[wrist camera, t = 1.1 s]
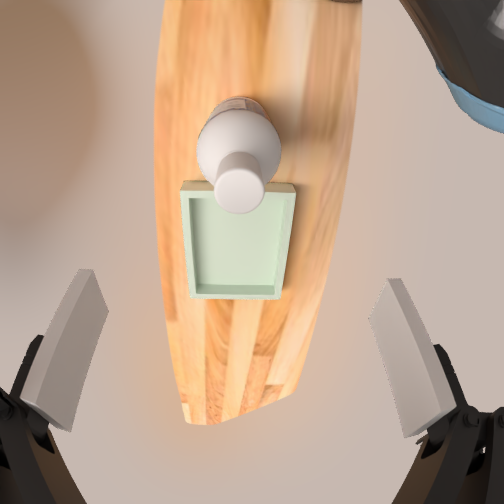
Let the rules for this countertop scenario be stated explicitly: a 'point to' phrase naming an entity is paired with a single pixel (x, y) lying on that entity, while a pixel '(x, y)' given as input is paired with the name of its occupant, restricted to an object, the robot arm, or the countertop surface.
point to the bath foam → (238, 153)
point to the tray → (236, 243)
